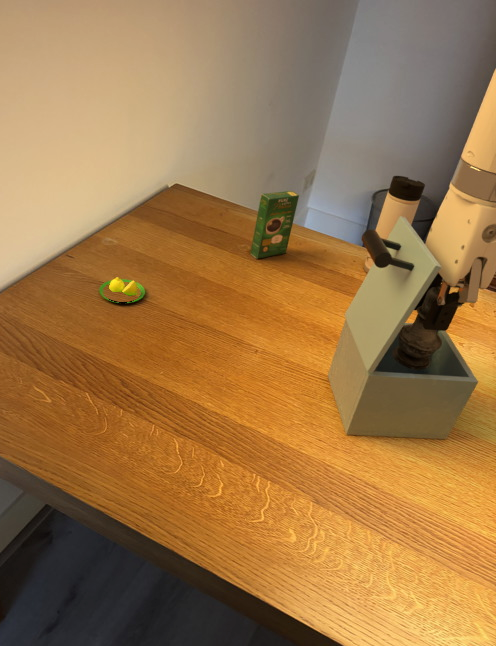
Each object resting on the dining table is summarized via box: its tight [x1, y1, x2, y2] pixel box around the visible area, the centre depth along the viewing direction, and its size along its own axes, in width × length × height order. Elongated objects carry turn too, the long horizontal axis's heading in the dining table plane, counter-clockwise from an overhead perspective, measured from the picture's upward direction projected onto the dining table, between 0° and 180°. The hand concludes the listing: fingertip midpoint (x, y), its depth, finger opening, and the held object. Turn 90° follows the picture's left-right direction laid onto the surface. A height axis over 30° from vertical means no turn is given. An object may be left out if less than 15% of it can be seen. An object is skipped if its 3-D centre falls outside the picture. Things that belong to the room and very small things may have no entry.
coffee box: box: [249, 190, 300, 260], centre depth 111 cm, size 8×3×13 cm, turn 122°
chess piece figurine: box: [392, 283, 443, 370], centre depth 72 cm, size 6×6×12 cm
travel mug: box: [363, 175, 426, 274], centre depth 109 cm, size 6×7×20 cm
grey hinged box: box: [327, 319, 479, 440], centre depth 78 cm, size 15×13×11 cm
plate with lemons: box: [99, 276, 146, 304], centre depth 96 cm, size 8×8×3 cm
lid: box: [344, 216, 441, 373], centre depth 68 cm, size 16×13×6 cm
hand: (428, 318), depth 72 cm, fingers closed on chess piece figurine, 3 cm apart
